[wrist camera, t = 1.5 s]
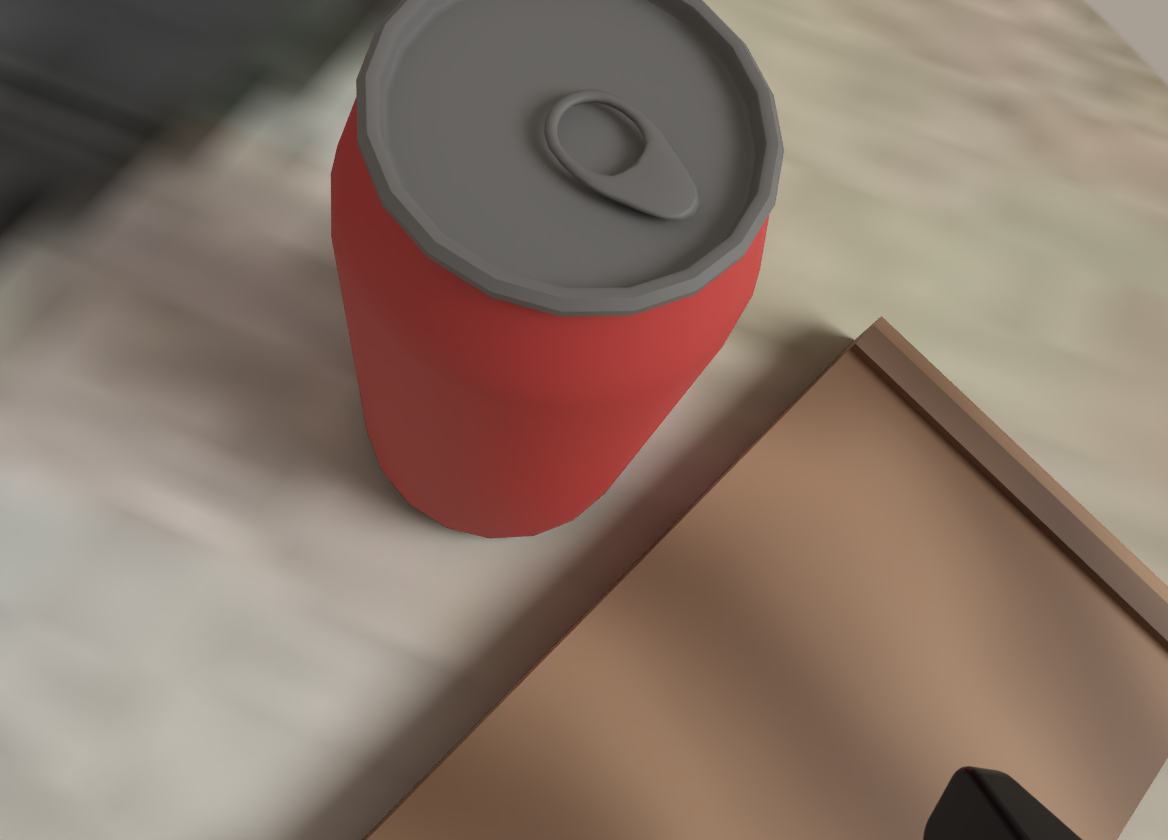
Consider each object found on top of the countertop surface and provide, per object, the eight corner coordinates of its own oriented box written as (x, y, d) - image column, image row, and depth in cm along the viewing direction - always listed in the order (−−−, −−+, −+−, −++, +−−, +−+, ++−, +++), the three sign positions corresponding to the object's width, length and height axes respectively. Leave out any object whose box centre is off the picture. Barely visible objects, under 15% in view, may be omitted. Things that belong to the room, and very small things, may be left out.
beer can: (513, 600, 21) (617, 462, 10) (309, 421, 22) (189, 98, 10) (677, 408, 23) (912, 121, 12) (489, 251, 24) (549, -164, 13)
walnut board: (694, 1417, 17) (725, 1495, 15) (276, 927, 18) (261, 947, 16) (1186, 654, 24) (1244, 648, 22) (855, 339, 25) (887, 311, 23)
